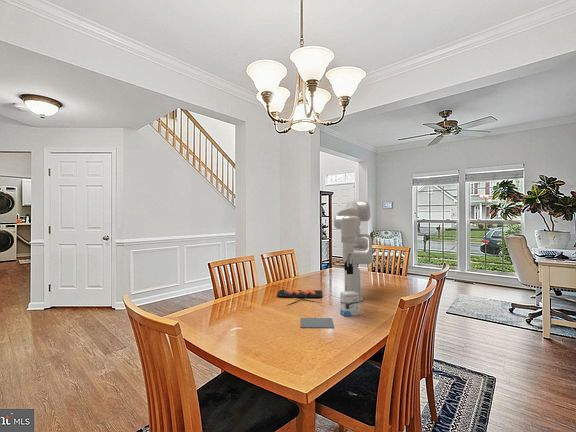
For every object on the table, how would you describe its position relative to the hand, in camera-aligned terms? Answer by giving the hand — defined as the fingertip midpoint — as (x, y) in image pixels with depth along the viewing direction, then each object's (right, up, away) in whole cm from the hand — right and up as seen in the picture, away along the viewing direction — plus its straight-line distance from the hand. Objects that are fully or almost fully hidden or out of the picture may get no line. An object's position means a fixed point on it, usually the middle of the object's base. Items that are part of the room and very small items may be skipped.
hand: (348, 272), depth 162 cm
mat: (-18, -23, -12) cm, 31 cm away
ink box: (+1, -23, +1) cm, 23 cm away
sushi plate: (-25, -23, +30) cm, 45 cm away
